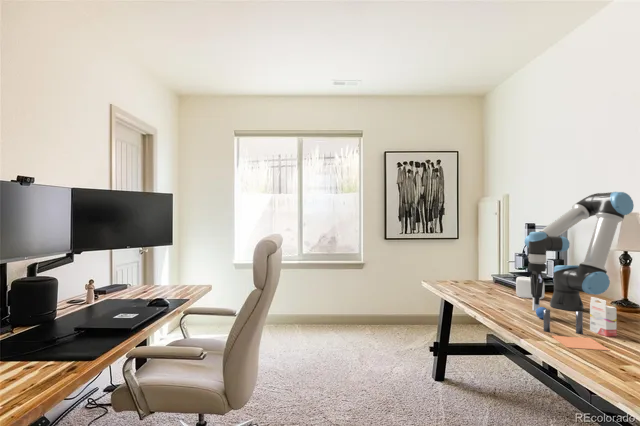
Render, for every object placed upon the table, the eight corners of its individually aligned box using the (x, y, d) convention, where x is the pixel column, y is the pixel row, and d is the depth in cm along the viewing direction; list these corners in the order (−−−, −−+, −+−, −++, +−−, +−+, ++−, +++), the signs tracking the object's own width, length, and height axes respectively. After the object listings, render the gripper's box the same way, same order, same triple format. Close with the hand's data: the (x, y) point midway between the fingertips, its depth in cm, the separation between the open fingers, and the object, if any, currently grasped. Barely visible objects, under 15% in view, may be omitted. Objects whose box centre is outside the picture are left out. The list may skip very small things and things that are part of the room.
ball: (546, 317, 181) (546, 306, 181) (551, 320, 175) (551, 308, 175) (534, 316, 182) (534, 305, 182) (538, 319, 176) (538, 308, 176)
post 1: (548, 330, 159) (548, 309, 159) (551, 332, 157) (551, 310, 157) (542, 330, 159) (542, 309, 160) (544, 331, 157) (544, 310, 157)
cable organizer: (543, 297, 229) (543, 278, 229) (544, 300, 220) (544, 280, 220) (516, 294, 236) (516, 276, 236) (515, 297, 227) (515, 278, 227)
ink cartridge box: (617, 336, 152) (617, 300, 152) (606, 336, 151) (606, 300, 151) (600, 330, 160) (600, 296, 160) (589, 330, 160) (589, 296, 160)
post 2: (581, 332, 157) (581, 311, 157) (583, 334, 154) (583, 312, 154) (574, 332, 157) (574, 310, 157) (577, 333, 155) (577, 312, 155)
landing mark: (590, 338, 149) (590, 338, 149) (610, 350, 135) (610, 350, 135) (551, 336, 151) (551, 335, 151) (567, 347, 138) (567, 347, 138)
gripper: (524, 261, 192) (523, 307, 191) (532, 263, 179) (531, 312, 178) (540, 262, 190) (539, 308, 189) (550, 264, 177) (549, 314, 177)
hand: (535, 310), depth 184 cm, fingers closed
